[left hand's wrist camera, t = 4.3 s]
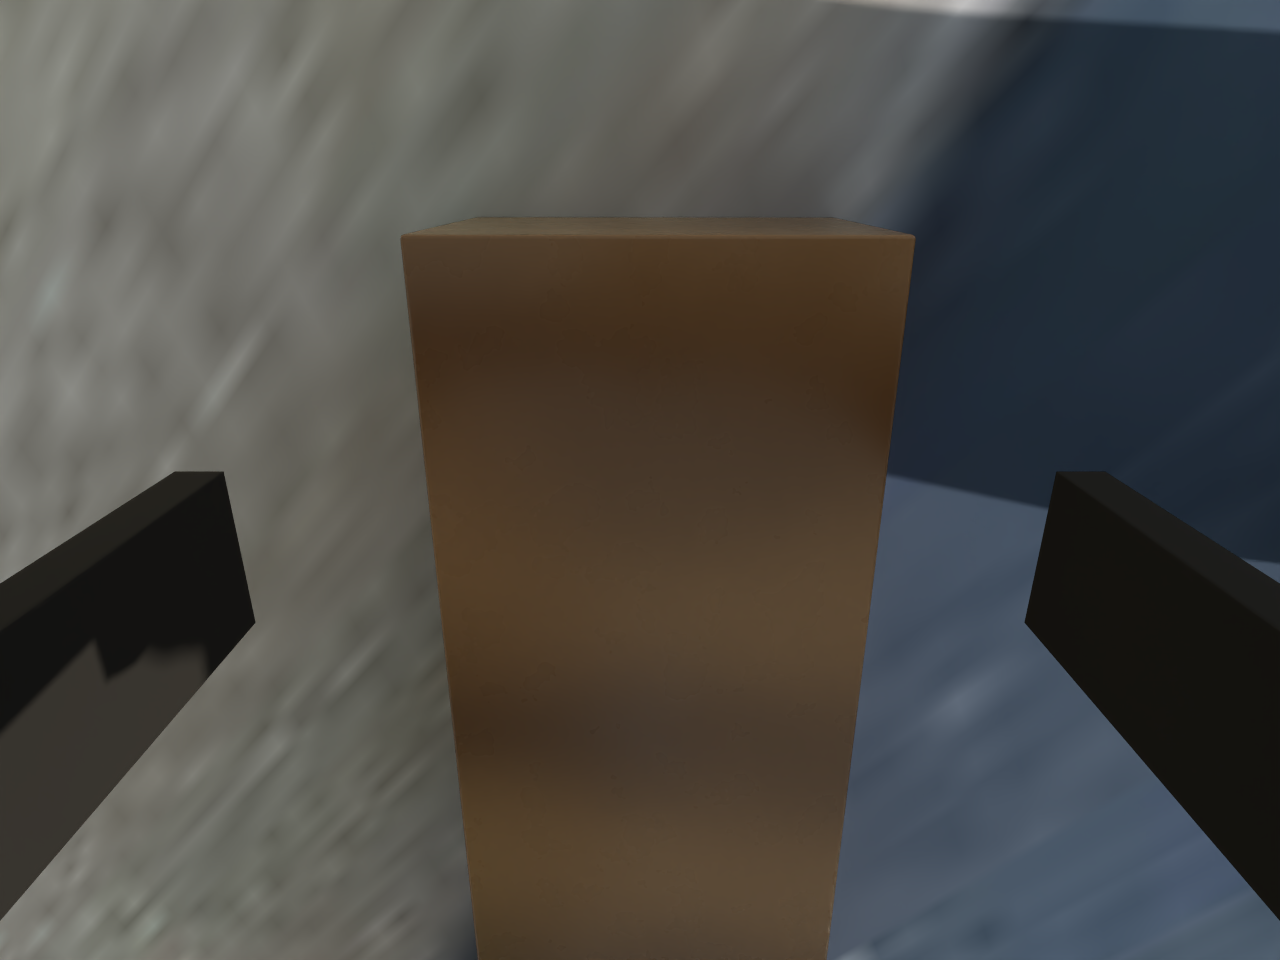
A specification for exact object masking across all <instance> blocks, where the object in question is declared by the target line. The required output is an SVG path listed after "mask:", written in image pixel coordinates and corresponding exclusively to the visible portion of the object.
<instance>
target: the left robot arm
mask: <svg viewBox="0 0 1280 960" xmlns="http://www.w3.org/2000/svg"><path fill="white" fill-rule="evenodd" d="M254 624H255V618H254V614H253V609H252V604H251V599H250V595H249V590H248V585H247V580H246V576H245V571H244V566H243V562H242V557H241V552H240V547H239V543H238V538H237V533H236V528H235V524H234V519H233V514H232V510H231V505H230V500H229V495H228V491H227V486H226V481H225V476H224V472H174V473H172V474H170V475H169V476H167V477H166V478H164V479H163V480H161V481H160V482H158V483H156V484H155V485H153V486H152V487H150V488H149V489H147V490H145V491H144V492H142V493H141V494H139V495H138V496H136V497H135V498H133V499H131V500H130V501H128V502H127V503H125V504H124V505H122V506H121V507H119V508H117V509H116V510H114V511H113V512H111V513H110V514H108V515H106V516H105V517H103V518H102V519H100V520H99V521H97V522H96V523H94V524H92V525H91V526H89V527H88V528H86V529H85V530H83V531H82V532H80V533H78V534H77V535H75V536H74V537H72V538H71V539H69V540H68V541H66V542H64V543H63V544H61V545H60V546H58V547H57V548H55V549H53V550H52V551H50V552H49V553H47V554H46V555H44V556H43V557H41V558H39V559H38V560H36V561H35V562H33V563H32V564H30V565H29V566H27V567H25V568H24V569H22V570H21V571H19V572H18V573H16V574H14V575H13V576H11V577H10V578H8V579H7V580H5V581H4V582H2V583H0V920H1V919H2V918H3V917H4V916H5V914H6V913H7V912H8V911H9V910H10V909H11V907H12V906H13V905H14V904H15V903H16V902H17V900H18V899H19V898H20V897H21V896H22V895H23V893H24V892H25V891H26V890H27V889H28V888H29V886H30V885H31V884H32V883H33V882H34V881H35V879H36V878H37V877H38V876H39V875H40V874H41V872H42V871H43V870H44V869H45V868H46V867H47V865H48V864H49V863H50V862H51V861H52V859H53V858H54V857H55V856H56V855H57V854H58V852H59V851H60V850H61V849H62V848H63V847H64V845H65V844H66V843H67V842H68V841H69V840H70V838H71V837H72V836H73V835H74V834H75V833H76V831H77V830H78V829H79V828H80V827H81V826H82V824H83V823H84V822H85V821H86V820H87V819H88V817H89V816H90V815H91V814H92V813H93V812H94V810H95V809H96V808H97V807H98V806H99V805H100V803H101V802H102V801H103V800H104V799H105V798H106V796H107V795H108V794H109V793H110V792H111V791H112V789H113V788H114V787H115V786H116V785H117V784H118V782H119V781H120V780H121V779H122V778H123V777H124V775H125V774H126V773H127V772H128V771H129V770H130V768H131V767H132V766H133V765H134V764H135V763H136V761H137V760H138V759H139V758H140V757H141V756H142V754H143V753H144V752H145V751H146V750H147V749H148V747H149V746H150V745H151V744H152V743H153V742H154V740H155V739H156V738H157V737H158V736H159V735H160V733H161V732H162V731H163V730H164V729H165V728H166V726H167V725H168V724H169V723H170V722H171V721H172V719H173V718H174V717H175V716H176V715H177V714H178V712H179V711H180V710H181V709H182V708H183V707H184V705H185V704H186V703H187V702H188V701H189V700H190V698H191V697H192V696H193V695H194V694H195V692H196V691H197V690H198V689H199V688H200V687H201V685H202V684H203V683H204V682H205V681H206V680H207V678H208V677H209V676H210V675H211V674H212V673H213V671H214V670H215V669H216V668H217V667H218V666H219V664H220V663H221V662H222V661H223V660H224V659H225V657H226V656H227V655H228V654H229V653H230V652H231V650H232V649H233V648H234V647H235V646H236V645H237V643H238V642H239V641H240V640H241V639H242V638H243V636H244V635H245V634H246V633H247V632H248V631H249V629H250V628H251V627H252V626H253V625H254ZM1025 624H1026V625H1027V626H1028V627H1029V628H1030V629H1031V631H1032V632H1033V633H1034V634H1035V635H1036V636H1037V638H1038V639H1039V640H1040V641H1041V642H1042V643H1043V645H1044V646H1045V647H1046V648H1047V649H1048V650H1049V652H1050V653H1051V654H1052V655H1053V656H1054V657H1055V659H1056V660H1057V661H1058V662H1059V663H1060V664H1061V666H1062V667H1063V668H1064V669H1065V670H1066V671H1067V673H1068V674H1069V675H1070V676H1071V677H1072V678H1073V680H1074V681H1075V682H1076V683H1077V684H1078V685H1079V687H1080V688H1081V689H1082V690H1083V691H1084V692H1085V694H1086V695H1087V696H1088V697H1089V698H1090V700H1091V701H1092V702H1093V703H1094V704H1095V705H1096V707H1097V708H1098V709H1099V710H1100V711H1101V712H1102V714H1103V715H1104V716H1105V717H1106V718H1107V719H1108V721H1109V722H1110V723H1111V724H1112V725H1113V726H1114V728H1115V729H1116V730H1117V731H1118V732H1119V733H1120V735H1121V736H1122V737H1123V738H1124V739H1125V740H1126V742H1127V743H1128V744H1129V745H1130V746H1131V747H1132V749H1133V750H1134V751H1135V752H1136V753H1137V754H1138V756H1139V757H1140V758H1141V759H1142V760H1143V761H1144V763H1145V764H1146V765H1147V766H1148V767H1149V768H1150V770H1151V771H1152V772H1153V773H1154V774H1155V775H1156V777H1157V778H1158V779H1159V780H1160V781H1161V782H1162V784H1163V785H1164V786H1165V787H1166V788H1167V789H1168V791H1169V792H1170V793H1171V794H1172V795H1173V796H1174V798H1175V799H1176V800H1177V801H1178V802H1179V803H1180V805H1181V806H1182V807H1183V808H1184V809H1185V810H1186V812H1187V813H1188V814H1189V815H1190V816H1191V817H1192V819H1193V820H1194V821H1195V822H1196V823H1197V824H1198V826H1199V827H1200V828H1201V829H1202V830H1203V831H1204V833H1205V834H1206V835H1207V836H1208V837H1209V838H1210V840H1211V841H1212V842H1213V843H1214V844H1215V845H1216V847H1217V848H1218V849H1219V850H1220V851H1221V852H1222V854H1223V855H1224V856H1225V857H1226V858H1227V860H1228V861H1229V862H1230V863H1231V864H1232V865H1233V867H1234V868H1235V869H1236V870H1237V871H1238V872H1239V874H1240V875H1241V876H1242V877H1243V878H1244V879H1245V881H1246V882H1247V883H1248V884H1249V885H1250V886H1251V888H1252V889H1253V890H1254V891H1255V892H1256V893H1257V895H1258V896H1259V897H1260V898H1261V899H1262V900H1263V902H1264V903H1265V904H1266V905H1267V906H1268V907H1269V909H1270V910H1271V911H1272V912H1273V913H1274V914H1275V916H1276V917H1277V918H1278V919H1279V920H1280V583H1278V582H1276V581H1275V580H1273V579H1272V578H1270V577H1269V576H1267V575H1266V574H1264V573H1262V572H1261V571H1259V570H1258V569H1256V568H1255V567H1253V566H1251V565H1250V564H1248V563H1247V562H1245V561H1244V560H1242V559H1241V558H1239V557H1237V556H1236V555H1234V554H1233V553H1231V552H1230V551H1228V550H1227V549H1225V548H1223V547H1222V546H1220V545H1219V544H1217V543H1216V542H1214V541H1212V540H1211V539H1209V538H1208V537H1206V536H1205V535H1203V534H1202V533H1200V532H1198V531H1197V530H1195V529H1194V528H1192V527H1191V526H1189V525H1188V524H1186V523H1184V522H1183V521H1181V520H1180V519H1178V518H1177V517H1175V516H1174V515H1172V514H1170V513H1169V512H1167V511H1166V510H1164V509H1163V508H1161V507H1159V506H1158V505H1156V504H1155V503H1153V502H1152V501H1150V500H1149V499H1147V498H1145V497H1144V496H1142V495H1141V494H1139V493H1138V492H1136V491H1135V490H1133V489H1131V488H1130V487H1128V486H1127V485H1125V484H1124V483H1122V482H1120V481H1119V480H1117V479H1116V478H1114V477H1113V476H1111V475H1110V474H1108V473H1106V472H1056V476H1055V481H1054V486H1053V491H1052V495H1051V500H1050V505H1049V510H1048V514H1047V519H1046V524H1045V528H1044V533H1043V538H1042V543H1041V547H1040V552H1039V557H1038V562H1037V566H1036V571H1035V576H1034V580H1033V585H1032V590H1031V595H1030V599H1029V604H1028V609H1027V614H1026V618H1025Z"/></svg>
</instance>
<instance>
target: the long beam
mask: <svg viewBox="0 0 1280 960" xmlns="http://www.w3.org/2000/svg"><path fill="white" fill-rule="evenodd" d="M400 240H401V249H402V258H403V268H404V277H405V286H406V295H407V305H408V314H409V323H410V333H411V342H412V351H413V361H414V370H415V379H416V388H417V398H418V407H419V416H420V426H421V435H422V444H423V454H424V463H425V472H426V482H427V491H428V500H429V509H430V519H431V528H432V537H433V547H434V556H435V565H436V575H437V584H438V593H439V602H440V612H441V621H442V630H443V640H444V649H445V658H446V668H447V677H448V686H449V695H450V705H451V714H452V723H453V733H454V742H455V751H456V761H457V770H458V779H459V789H460V798H461V807H462V816H463V826H464V835H465V844H466V854H467V863H468V872H469V882H470V891H471V900H472V909H473V919H474V928H475V937H476V947H477V956H478V960H826V959H827V951H828V943H829V935H830V927H831V919H832V911H833V903H834V895H835V887H836V878H837V870H838V862H839V854H840V846H841V838H842V830H843V822H844V814H845V806H846V798H847V790H848V782H849V773H850V765H851V757H852V749H853V741H854V733H855V725H856V717H857V709H858V701H859V693H860V685H861V677H862V668H863V660H864V652H865V644H866V636H867V628H868V620H869V612H870V604H871V596H872V588H873V580H874V572H875V563H876V555H877V547H878V539H879V531H880V523H881V515H882V507H883V499H884V491H885V483H886V475H887V467H888V458H889V450H890V442H891V434H892V426H893V418H894V410H895V402H896V394H897V386H898V378H899V370H900V361H901V353H902V345H903V337H904V329H905V321H906V313H907V305H908V297H909V289H910V281H911V273H912V265H913V256H914V248H915V240H916V239H915V236H914V235H911V234H906V233H902V232H897V231H892V230H888V229H883V228H879V227H874V226H870V225H865V224H860V223H856V222H851V221H847V220H842V219H837V218H580V217H476V218H472V219H468V220H463V221H459V222H455V223H451V224H446V225H442V226H438V227H433V228H429V229H425V230H421V231H416V232H412V233H408V234H404V235H402V236H401V239H400Z"/></svg>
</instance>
